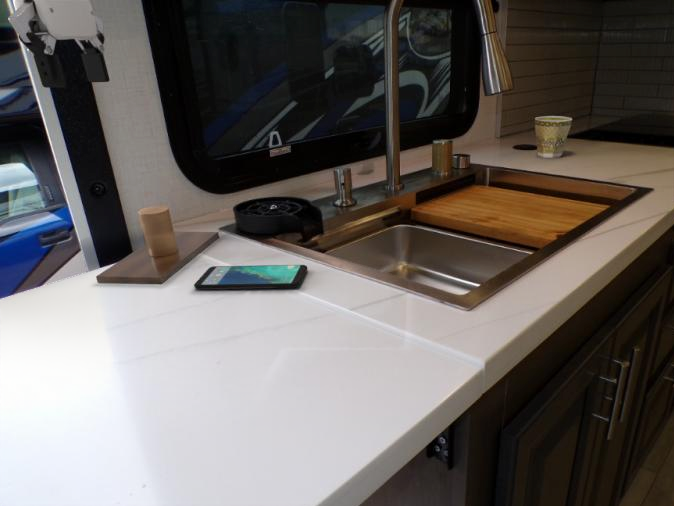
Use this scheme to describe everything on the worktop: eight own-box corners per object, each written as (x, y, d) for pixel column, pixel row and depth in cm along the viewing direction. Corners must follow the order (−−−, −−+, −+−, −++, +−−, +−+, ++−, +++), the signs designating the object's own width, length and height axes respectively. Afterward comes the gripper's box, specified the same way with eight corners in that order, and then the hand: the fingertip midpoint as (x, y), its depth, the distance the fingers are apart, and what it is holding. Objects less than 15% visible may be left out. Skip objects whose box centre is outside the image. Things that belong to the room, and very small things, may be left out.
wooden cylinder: (143, 256, 83) (132, 214, 80) (157, 246, 87) (147, 205, 84) (169, 257, 82) (159, 214, 79) (183, 247, 86) (173, 205, 83)
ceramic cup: (565, 159, 143) (569, 121, 138) (528, 157, 146) (531, 120, 142) (571, 151, 153) (575, 115, 149) (537, 149, 157) (540, 114, 152)
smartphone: (210, 265, 79) (308, 264, 78) (211, 270, 79) (308, 268, 79) (191, 285, 73) (298, 284, 72) (192, 290, 73) (298, 288, 72)
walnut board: (97, 282, 77) (95, 276, 76) (166, 236, 94) (165, 231, 94) (161, 284, 76) (160, 277, 75) (219, 237, 93) (218, 231, 93)
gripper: (58, -46, 76) (92, 80, 84) (-44, -67, 61) (8, 90, 69) (106, -49, 76) (136, 79, 83) (14, -71, 60) (61, 89, 68)
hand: (78, 84), depth 76 cm, fingers open, 9 cm apart
